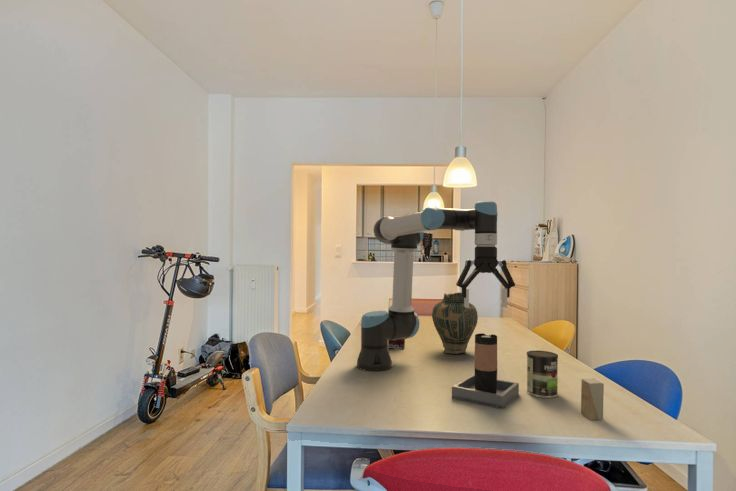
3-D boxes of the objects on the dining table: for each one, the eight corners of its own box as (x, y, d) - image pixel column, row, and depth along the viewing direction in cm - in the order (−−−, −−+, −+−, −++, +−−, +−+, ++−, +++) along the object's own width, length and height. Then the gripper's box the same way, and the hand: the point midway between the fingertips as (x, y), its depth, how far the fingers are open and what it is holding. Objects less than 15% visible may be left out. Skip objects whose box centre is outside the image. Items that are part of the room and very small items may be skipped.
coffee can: (564, 395, 153) (564, 355, 153) (543, 400, 148) (543, 358, 148) (540, 387, 162) (540, 349, 162) (520, 391, 157) (520, 351, 157)
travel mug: (482, 398, 147) (482, 338, 147) (470, 390, 154) (470, 334, 154) (501, 395, 149) (502, 336, 149) (488, 388, 156) (489, 332, 156)
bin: (451, 398, 149) (451, 386, 149) (471, 385, 164) (471, 374, 164) (502, 409, 139) (502, 396, 139) (518, 394, 153) (518, 383, 153)
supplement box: (388, 348, 223) (388, 317, 223) (388, 346, 228) (388, 316, 228) (405, 349, 222) (405, 318, 222) (405, 347, 227) (405, 316, 227)
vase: (482, 358, 205) (482, 294, 205) (435, 357, 205) (435, 293, 206) (472, 347, 227) (472, 289, 228) (429, 347, 227) (429, 289, 228)
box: (580, 414, 135) (580, 378, 136) (593, 413, 136) (593, 377, 136) (590, 420, 130) (590, 383, 130) (604, 420, 131) (604, 383, 131)
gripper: (453, 245, 147) (453, 308, 147) (525, 246, 150) (525, 308, 149) (447, 245, 155) (447, 305, 155) (515, 246, 157) (515, 305, 157)
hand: (485, 307), depth 152 cm, fingers open, 13 cm apart
